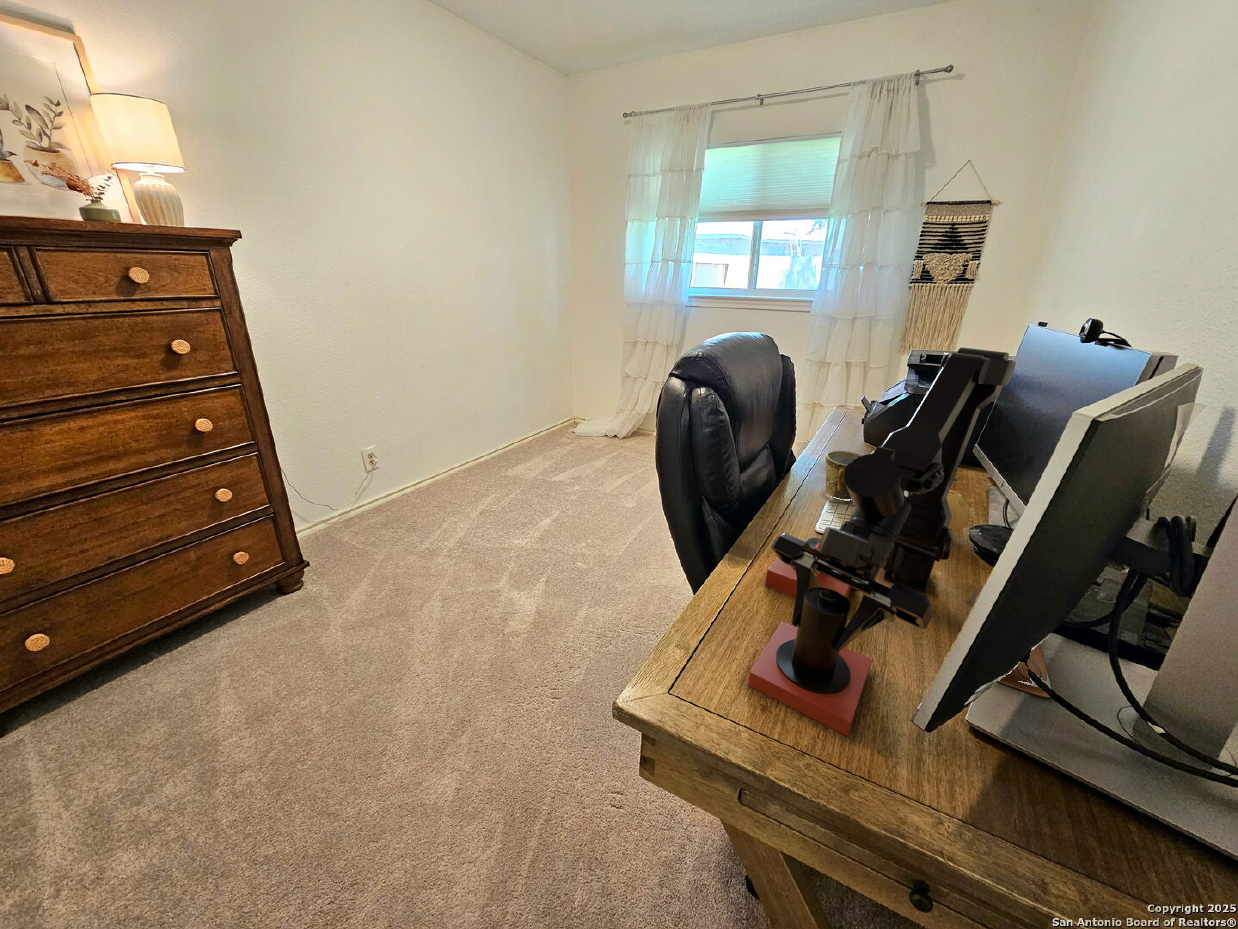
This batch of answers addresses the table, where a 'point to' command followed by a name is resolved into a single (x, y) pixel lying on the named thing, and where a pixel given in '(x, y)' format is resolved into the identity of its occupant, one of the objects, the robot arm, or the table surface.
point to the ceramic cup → (838, 475)
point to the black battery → (820, 632)
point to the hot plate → (811, 681)
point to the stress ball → (957, 511)
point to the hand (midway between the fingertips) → (814, 637)
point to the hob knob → (815, 546)
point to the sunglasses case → (1025, 670)
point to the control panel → (786, 579)
